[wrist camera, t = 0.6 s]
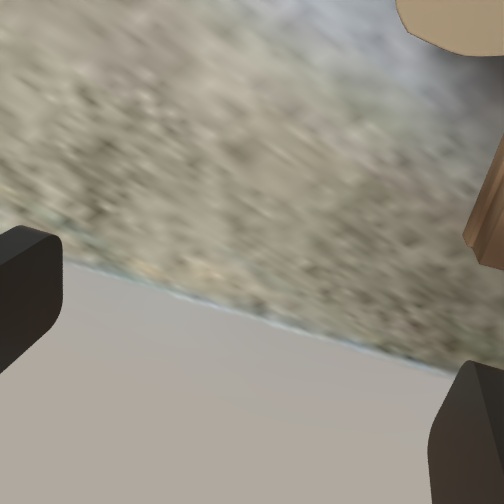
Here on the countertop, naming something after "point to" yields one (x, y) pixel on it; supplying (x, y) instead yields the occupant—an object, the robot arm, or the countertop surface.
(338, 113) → the countertop surface
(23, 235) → the robot arm
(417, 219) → the countertop surface
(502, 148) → the slot board
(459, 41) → the handle
